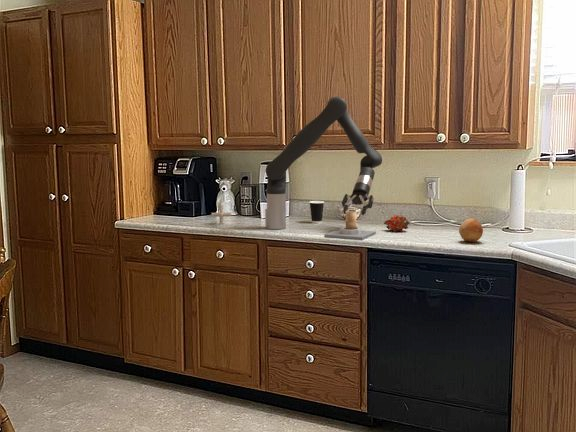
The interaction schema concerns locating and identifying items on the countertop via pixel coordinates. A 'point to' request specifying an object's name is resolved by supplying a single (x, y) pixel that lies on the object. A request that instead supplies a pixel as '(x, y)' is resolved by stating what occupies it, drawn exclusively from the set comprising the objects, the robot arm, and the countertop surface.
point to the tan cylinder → (351, 219)
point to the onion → (471, 230)
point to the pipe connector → (221, 214)
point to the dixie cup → (316, 211)
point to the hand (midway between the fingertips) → (353, 213)
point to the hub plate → (350, 234)
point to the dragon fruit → (397, 223)
